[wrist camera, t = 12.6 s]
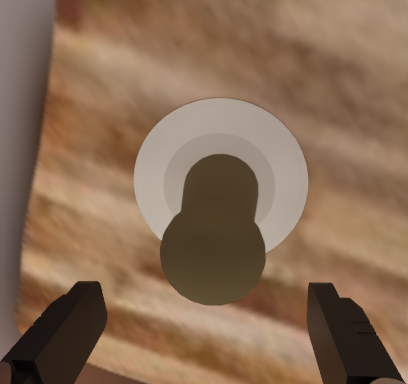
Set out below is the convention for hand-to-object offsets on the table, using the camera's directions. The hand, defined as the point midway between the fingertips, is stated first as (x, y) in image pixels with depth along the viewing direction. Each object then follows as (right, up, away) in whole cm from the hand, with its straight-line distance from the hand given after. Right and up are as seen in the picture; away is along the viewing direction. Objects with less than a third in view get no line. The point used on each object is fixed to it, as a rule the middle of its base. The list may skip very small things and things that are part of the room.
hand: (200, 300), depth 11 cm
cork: (+1, +4, +12) cm, 13 cm away
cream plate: (+1, +5, +13) cm, 14 cm away
